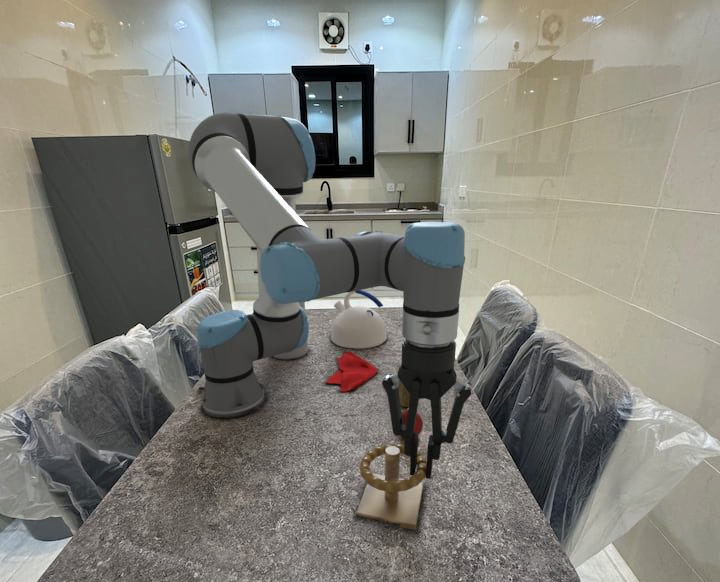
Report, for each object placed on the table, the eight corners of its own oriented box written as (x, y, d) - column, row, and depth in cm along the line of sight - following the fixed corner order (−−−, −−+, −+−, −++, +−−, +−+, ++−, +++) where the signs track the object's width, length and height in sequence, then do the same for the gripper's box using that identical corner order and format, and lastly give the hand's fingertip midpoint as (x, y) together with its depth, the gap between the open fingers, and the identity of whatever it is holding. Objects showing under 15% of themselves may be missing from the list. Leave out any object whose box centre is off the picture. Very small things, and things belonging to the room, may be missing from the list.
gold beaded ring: (351, 487, 61) (350, 479, 61) (370, 446, 71) (370, 438, 71) (421, 499, 58) (420, 491, 57) (431, 454, 68) (431, 446, 67)
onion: (404, 449, 81) (405, 417, 78) (390, 435, 85) (390, 404, 82) (427, 441, 83) (429, 410, 80) (411, 427, 88) (413, 397, 85)
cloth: (370, 393, 102) (370, 386, 101) (321, 390, 104) (320, 383, 104) (381, 354, 126) (381, 348, 125) (340, 352, 128) (340, 346, 127)
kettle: (352, 324, 153) (351, 280, 145) (397, 335, 141) (398, 287, 134) (318, 340, 138) (315, 291, 130) (365, 353, 126) (365, 300, 119)
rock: (422, 403, 93) (428, 380, 101) (401, 377, 91) (409, 355, 99) (388, 418, 99) (396, 395, 107) (367, 394, 97) (378, 372, 105)
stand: (356, 518, 64) (354, 465, 60) (370, 477, 73) (370, 428, 69) (415, 530, 62) (418, 476, 57) (423, 487, 71) (426, 437, 66)
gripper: (370, 344, 52) (371, 478, 62) (485, 354, 49) (467, 496, 58) (382, 325, 59) (381, 450, 68) (484, 333, 55) (468, 464, 65)
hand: (421, 471), depth 63 cm, fingers closed on gold beaded ring, 2 cm apart
